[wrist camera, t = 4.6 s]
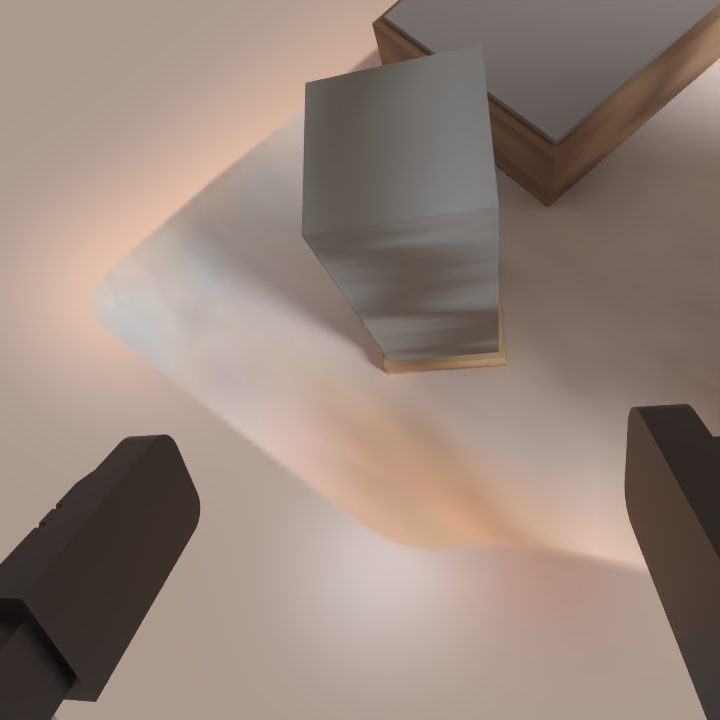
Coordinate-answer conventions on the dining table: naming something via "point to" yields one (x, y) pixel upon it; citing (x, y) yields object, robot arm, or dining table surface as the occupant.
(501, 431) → the dining table surface
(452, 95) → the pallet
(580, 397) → the dining table surface
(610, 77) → the plate
